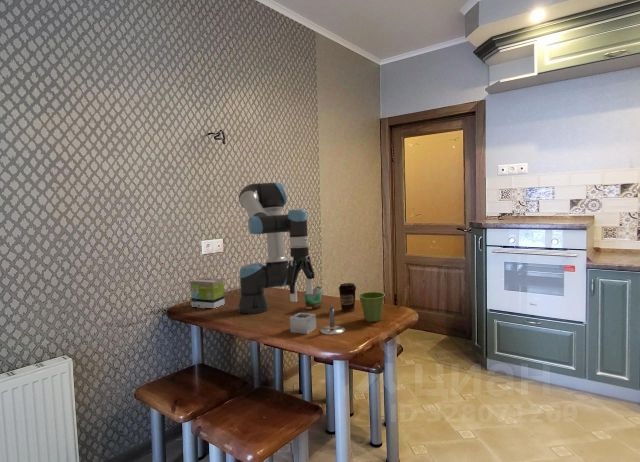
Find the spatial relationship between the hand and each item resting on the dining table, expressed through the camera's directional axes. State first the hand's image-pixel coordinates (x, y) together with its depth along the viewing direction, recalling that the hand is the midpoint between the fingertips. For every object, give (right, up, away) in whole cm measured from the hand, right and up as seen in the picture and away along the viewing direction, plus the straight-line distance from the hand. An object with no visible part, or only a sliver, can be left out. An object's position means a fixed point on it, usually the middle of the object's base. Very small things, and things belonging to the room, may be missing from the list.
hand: (302, 297), depth 161 cm
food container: (+6, -12, +34) cm, 37 cm away
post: (+13, -13, -1) cm, 18 cm away
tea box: (-53, -13, +49) cm, 73 cm away
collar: (+1, -14, +1) cm, 14 cm away
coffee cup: (+21, -11, +28) cm, 37 cm away
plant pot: (+31, -12, +11) cm, 35 cm away
